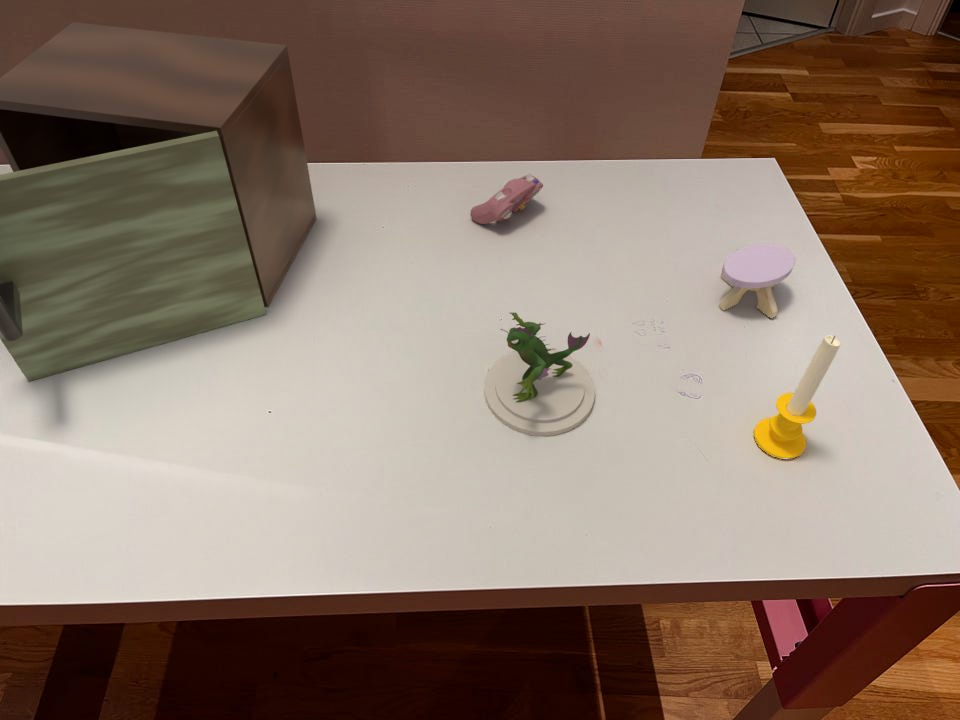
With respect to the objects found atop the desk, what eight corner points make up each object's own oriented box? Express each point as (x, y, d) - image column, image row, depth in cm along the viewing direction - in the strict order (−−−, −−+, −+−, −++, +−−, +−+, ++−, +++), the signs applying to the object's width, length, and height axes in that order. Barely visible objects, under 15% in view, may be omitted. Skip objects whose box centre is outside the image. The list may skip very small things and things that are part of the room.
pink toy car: (486, 241, 101) (506, 213, 95) (465, 216, 101) (483, 186, 95) (533, 209, 106) (554, 181, 100) (512, 186, 106) (532, 156, 100)
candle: (784, 414, 80) (839, 310, 68) (815, 452, 76) (878, 349, 65) (743, 427, 78) (792, 323, 67) (772, 466, 75) (829, 363, 64)
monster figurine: (480, 354, 85) (482, 287, 77) (583, 350, 85) (596, 283, 78) (488, 439, 77) (492, 373, 69) (603, 433, 77) (618, 368, 70)
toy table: (731, 330, 88) (744, 294, 84) (692, 281, 94) (704, 246, 90) (800, 312, 90) (817, 277, 86) (759, 266, 96) (773, 231, 92)
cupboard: (268, 308, 89) (220, 127, 71) (68, 278, 92) (-26, 97, 74) (317, 219, 101) (287, 45, 83) (138, 195, 104) (73, 21, 86)
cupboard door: (281, 352, 84) (234, 172, 66) (32, 427, 76) (-96, 246, 59) (264, 309, 89) (216, 130, 71) (27, 375, 81) (-92, 193, 63)
